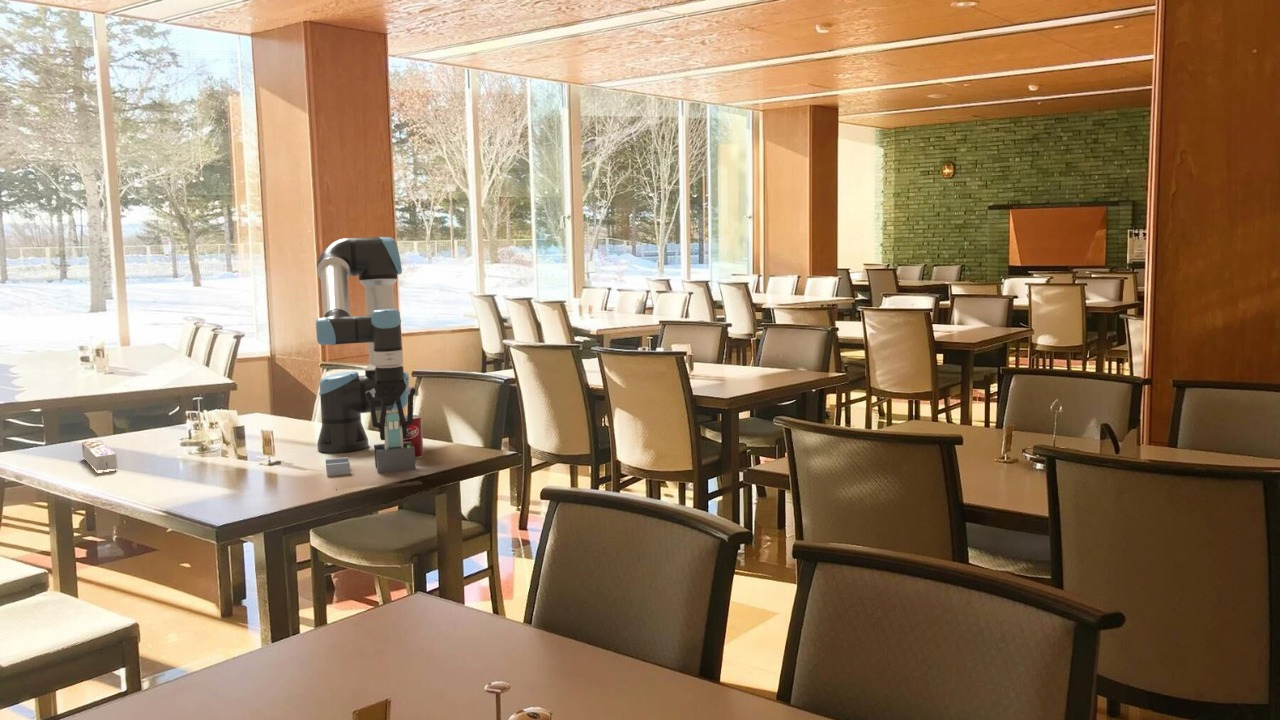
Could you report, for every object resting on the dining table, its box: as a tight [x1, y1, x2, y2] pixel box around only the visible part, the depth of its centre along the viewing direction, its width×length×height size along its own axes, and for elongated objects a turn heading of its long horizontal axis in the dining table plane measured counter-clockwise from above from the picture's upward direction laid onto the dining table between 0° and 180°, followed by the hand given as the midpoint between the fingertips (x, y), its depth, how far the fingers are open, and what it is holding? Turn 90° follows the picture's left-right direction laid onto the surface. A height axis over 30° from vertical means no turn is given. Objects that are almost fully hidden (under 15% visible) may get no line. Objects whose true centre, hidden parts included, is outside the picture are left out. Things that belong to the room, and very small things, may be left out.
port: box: [373, 441, 417, 474], centre depth 274 cm, size 10×10×8 cm
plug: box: [385, 411, 401, 449], centre depth 273 cm, size 5×3×12 cm
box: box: [81, 439, 118, 471], centre depth 296 cm, size 27×5×6 cm, turn 37°
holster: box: [325, 456, 351, 477], centre depth 271 cm, size 8×6×4 cm
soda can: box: [399, 414, 424, 460], centre depth 292 cm, size 7×7×12 cm
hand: (394, 450), depth 274 cm, fingers closed on plug, 3 cm apart
